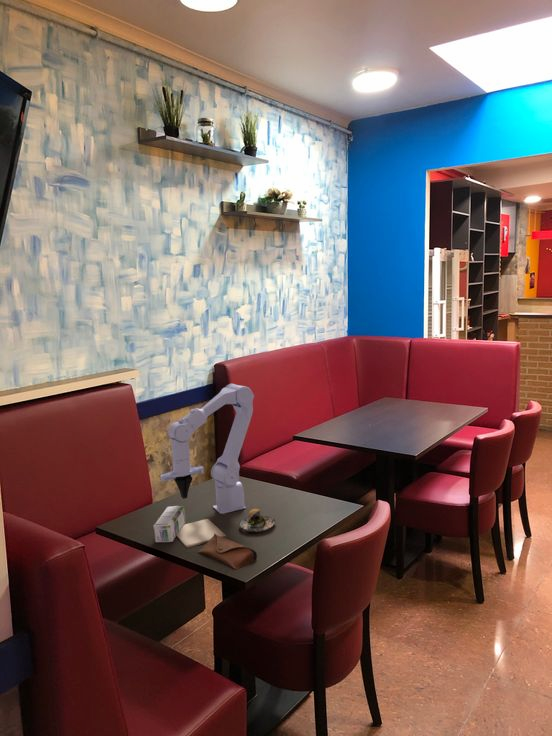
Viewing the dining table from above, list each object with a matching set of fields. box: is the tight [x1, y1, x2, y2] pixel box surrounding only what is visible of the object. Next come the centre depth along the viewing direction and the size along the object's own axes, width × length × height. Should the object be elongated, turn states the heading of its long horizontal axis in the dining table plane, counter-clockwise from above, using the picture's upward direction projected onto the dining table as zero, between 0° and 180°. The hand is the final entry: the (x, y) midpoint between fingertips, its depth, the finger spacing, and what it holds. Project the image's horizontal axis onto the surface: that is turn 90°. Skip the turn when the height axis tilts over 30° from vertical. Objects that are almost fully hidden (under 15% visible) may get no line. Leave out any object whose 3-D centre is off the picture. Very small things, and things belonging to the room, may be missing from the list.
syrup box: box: [153, 505, 186, 543], centre depth 187 cm, size 6×6×14 cm
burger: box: [238, 505, 276, 535], centre depth 189 cm, size 12×12×8 cm
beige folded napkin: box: [176, 518, 227, 549], centre depth 186 cm, size 13×16×1 cm
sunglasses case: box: [197, 534, 258, 570], centre depth 171 cm, size 18×7×7 cm, turn 48°
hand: (184, 497), depth 195 cm, fingers closed
